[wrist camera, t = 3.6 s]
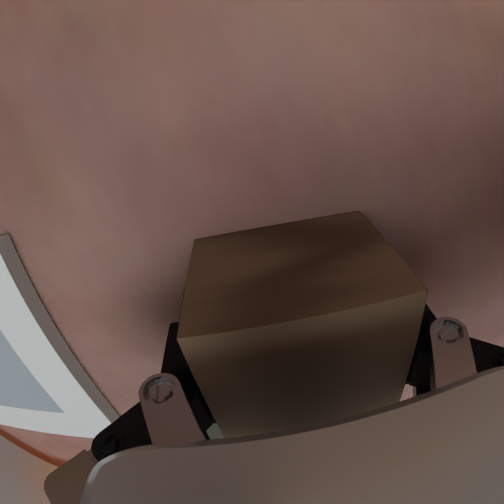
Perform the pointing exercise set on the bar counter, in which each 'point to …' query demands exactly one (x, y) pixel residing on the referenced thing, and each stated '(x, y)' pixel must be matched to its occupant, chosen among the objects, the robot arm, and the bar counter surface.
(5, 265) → the board
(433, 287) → the bar counter surface
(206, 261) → the walnut block
